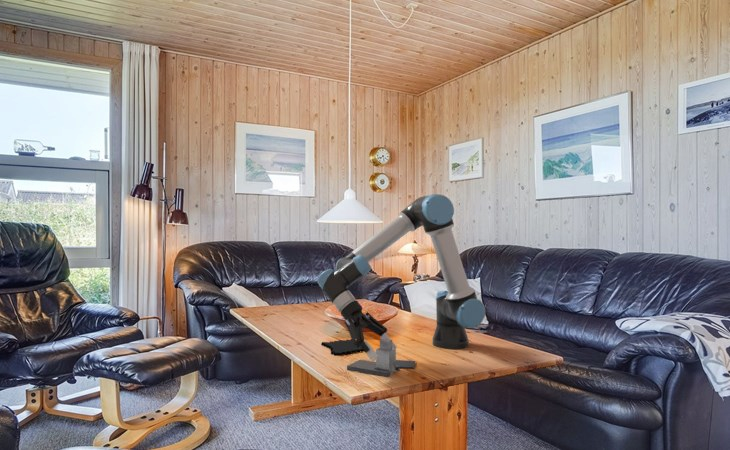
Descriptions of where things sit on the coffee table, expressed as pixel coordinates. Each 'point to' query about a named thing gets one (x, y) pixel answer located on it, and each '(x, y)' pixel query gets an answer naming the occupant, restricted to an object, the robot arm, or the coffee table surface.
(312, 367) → the coffee table surface
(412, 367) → the pad
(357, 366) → the slotted plate
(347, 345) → the decorative item
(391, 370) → the stepped metal tower
